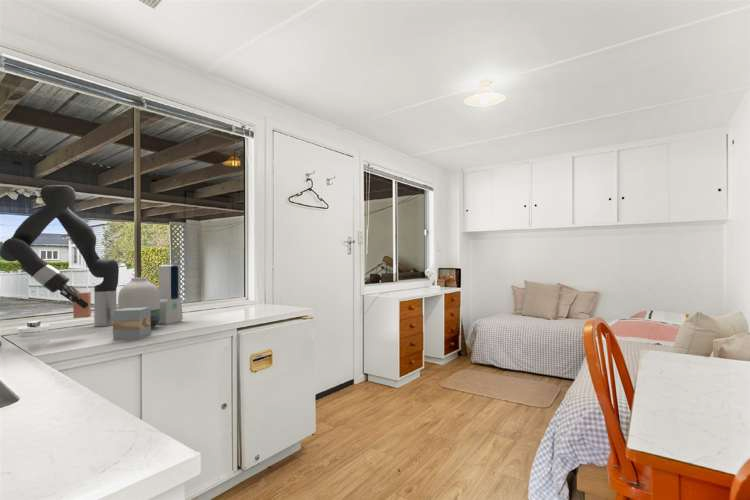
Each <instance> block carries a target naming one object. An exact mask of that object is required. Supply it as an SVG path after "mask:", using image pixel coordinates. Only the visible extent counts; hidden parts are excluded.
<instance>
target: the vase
mask: <svg viewBox="0 0 750 500" xmlns="http://www.w3.org/2000/svg"><path fill="white" fill-rule="evenodd" d="M141 307H151V316H150V317H151V329H152V328H153V327H156V326H157V325H159V324H158V322H159V319H160V293H159V287H158V286H156V285H155V284H154V283H153V282H151V281H149V279H148V277H131V279H130V281H129V282H127V283H126V284H125V285H123V286H122V287H121V288H120V290H119V292H118V295H117V310H119V309H124V308H141Z"/></svg>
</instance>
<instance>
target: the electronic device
mask: <svg viewBox="0 0 750 500" xmlns="http://www.w3.org/2000/svg"><path fill="white" fill-rule="evenodd" d="M158 290H159V293H160V319H159V322H158V324H157V325H162V324H168V325H170V324H171V323H172V324H175V323H174V322H177V323H180V322H179V321H181V322H182V321H183V318H184V317H183V316H184V315H183V306H182V298H180V265H178V264H161V265H159V266H158ZM172 324H171V325H172Z"/></svg>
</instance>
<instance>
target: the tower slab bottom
mask: <svg viewBox="0 0 750 500" xmlns="http://www.w3.org/2000/svg"><path fill="white" fill-rule="evenodd" d="M151 332H152V328H151V326H149V327H146V328H143V329H140V330H120V331H113V330H112V337H113V339H112V340H113V341H115V340H117V341H118V340H130V339H131V340H133V339H134V340H138V339H139V340H140V339H142V338H144V337H147V336H150V335H151V334H152V333H151Z"/></svg>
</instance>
